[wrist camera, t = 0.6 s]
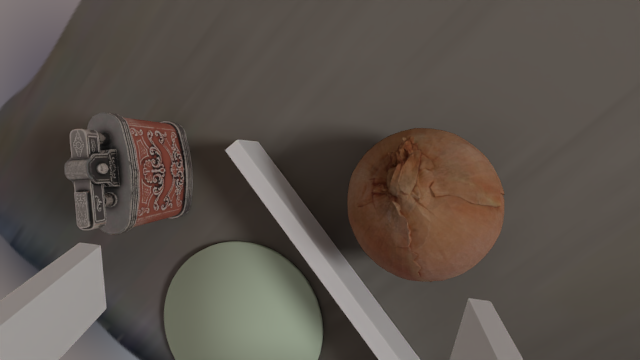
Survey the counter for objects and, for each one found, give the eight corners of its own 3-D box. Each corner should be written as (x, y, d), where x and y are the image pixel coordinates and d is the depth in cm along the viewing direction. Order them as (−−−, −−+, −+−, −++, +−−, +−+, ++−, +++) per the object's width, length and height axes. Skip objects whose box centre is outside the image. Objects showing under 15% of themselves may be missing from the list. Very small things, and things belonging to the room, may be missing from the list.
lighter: (152, 123, 32) (45, 110, 22) (188, 120, 31) (93, 105, 22) (160, 217, 33) (58, 243, 23) (196, 216, 32) (106, 243, 22)
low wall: (427, 369, 29) (431, 403, 25) (414, 377, 29) (417, 412, 25) (258, 141, 30) (237, 139, 26) (247, 150, 30) (224, 150, 27)
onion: (379, 164, 31) (325, 110, 23) (505, 154, 27) (494, 83, 19) (373, 281, 29) (310, 268, 20) (512, 291, 24) (503, 280, 16)
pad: (358, 349, 30) (357, 353, 29) (229, 432, 33) (227, 436, 32) (254, 207, 31) (251, 208, 30) (138, 299, 34) (134, 301, 33)
